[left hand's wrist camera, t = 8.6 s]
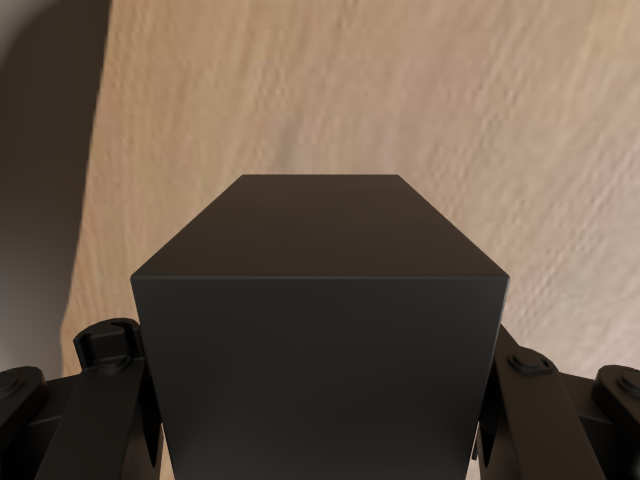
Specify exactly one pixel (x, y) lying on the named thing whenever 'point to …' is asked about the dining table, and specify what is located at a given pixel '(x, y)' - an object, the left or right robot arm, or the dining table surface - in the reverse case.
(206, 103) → the dining table surface
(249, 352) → the box
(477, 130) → the dining table surface
